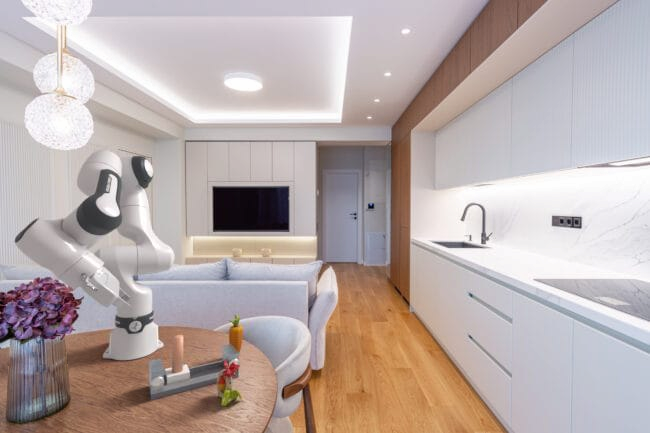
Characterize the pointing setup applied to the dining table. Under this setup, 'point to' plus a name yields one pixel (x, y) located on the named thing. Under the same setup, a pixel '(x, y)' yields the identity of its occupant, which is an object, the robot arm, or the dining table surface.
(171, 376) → the carriage
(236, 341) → the carrot
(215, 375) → the rail track
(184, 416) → the dining table surface
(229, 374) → the decorative toy figure
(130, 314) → the robot arm
